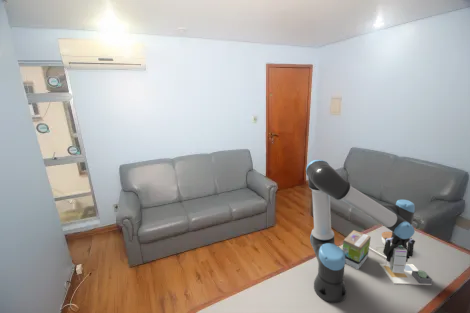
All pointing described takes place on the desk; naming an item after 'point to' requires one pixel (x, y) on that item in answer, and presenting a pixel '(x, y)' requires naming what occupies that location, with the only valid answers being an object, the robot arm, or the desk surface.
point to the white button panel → (406, 276)
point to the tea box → (356, 248)
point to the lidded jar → (386, 236)
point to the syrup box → (399, 259)
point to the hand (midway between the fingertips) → (395, 266)
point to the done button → (422, 274)
